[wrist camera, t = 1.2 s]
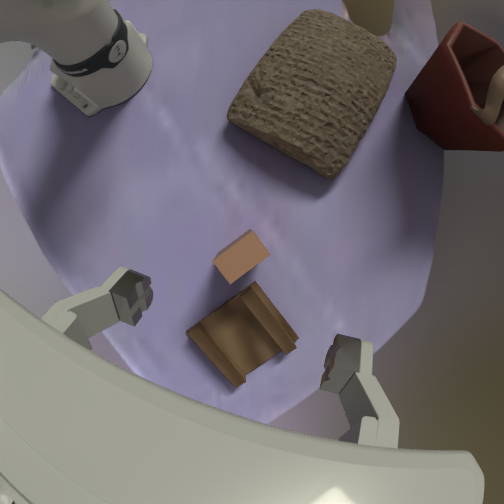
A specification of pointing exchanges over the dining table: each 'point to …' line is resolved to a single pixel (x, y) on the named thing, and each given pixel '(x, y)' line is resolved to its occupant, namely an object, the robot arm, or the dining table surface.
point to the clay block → (240, 256)
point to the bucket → (462, 92)
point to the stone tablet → (316, 90)
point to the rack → (243, 334)
